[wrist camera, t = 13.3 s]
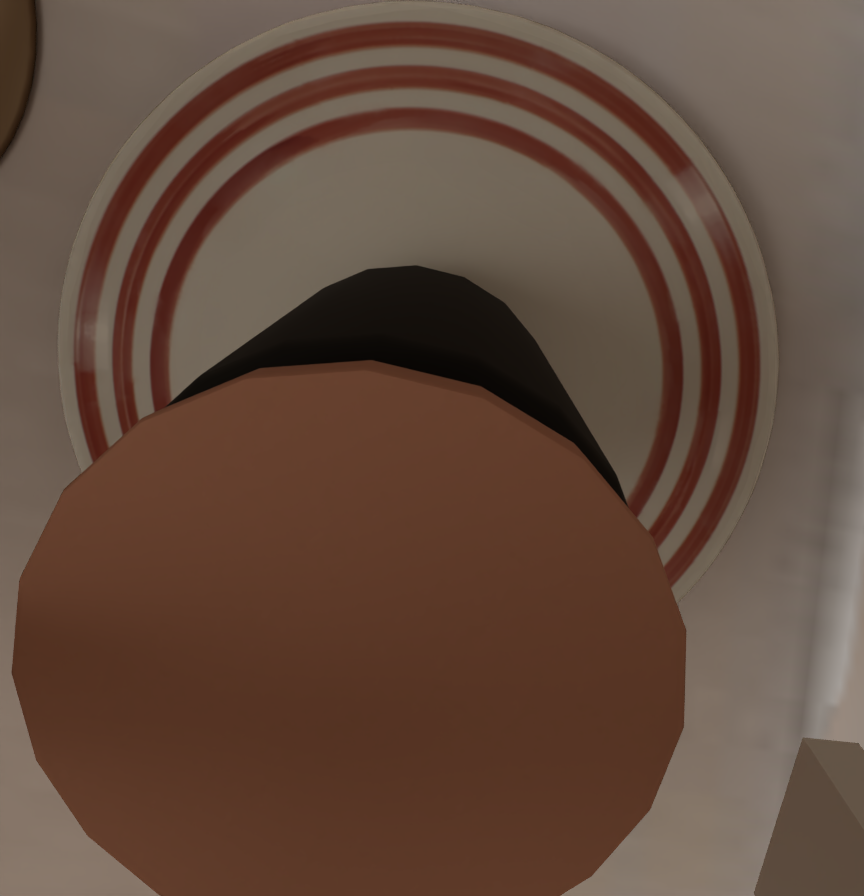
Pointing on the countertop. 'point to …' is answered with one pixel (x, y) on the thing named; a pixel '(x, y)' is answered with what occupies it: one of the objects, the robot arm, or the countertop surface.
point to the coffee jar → (356, 617)
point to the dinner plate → (441, 238)
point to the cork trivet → (15, 64)
